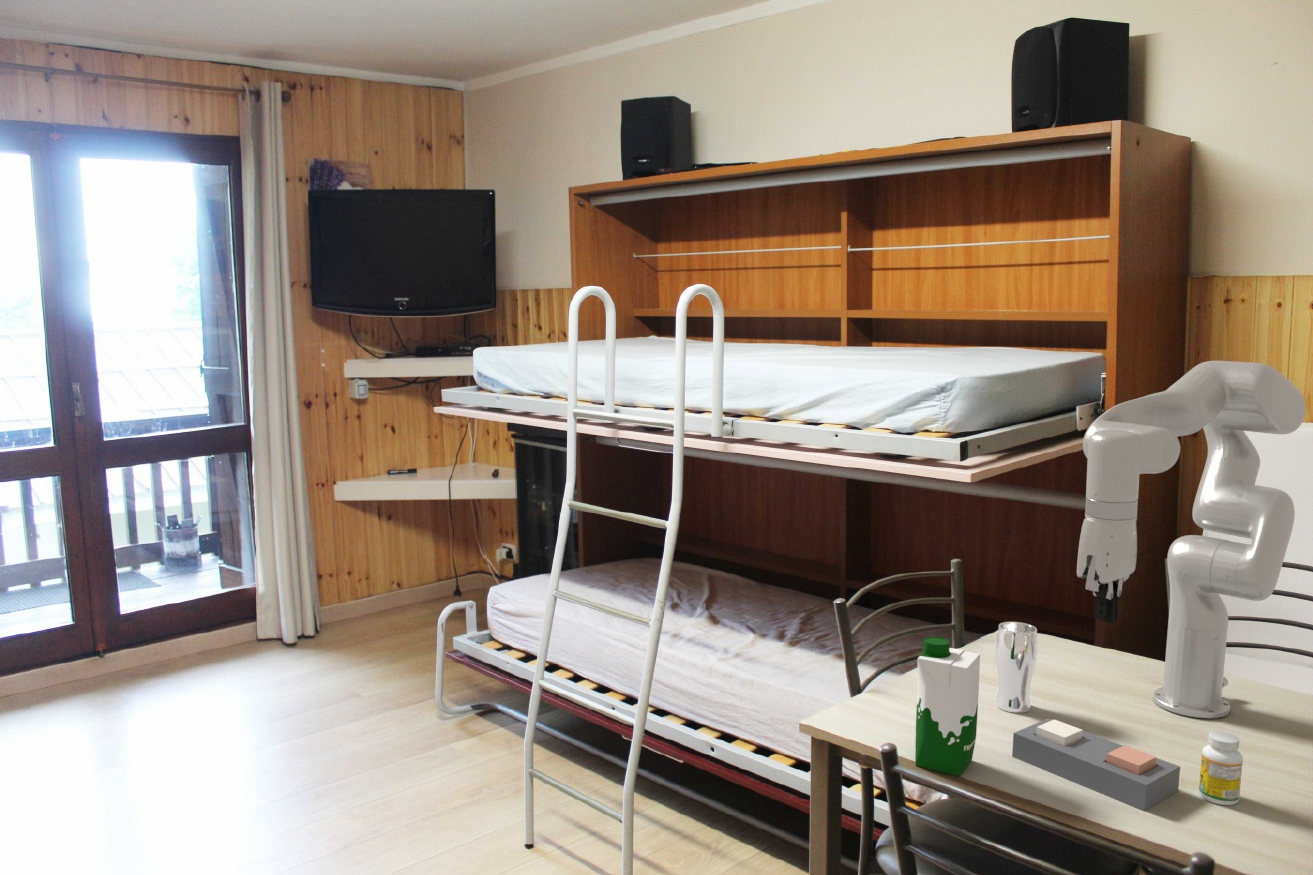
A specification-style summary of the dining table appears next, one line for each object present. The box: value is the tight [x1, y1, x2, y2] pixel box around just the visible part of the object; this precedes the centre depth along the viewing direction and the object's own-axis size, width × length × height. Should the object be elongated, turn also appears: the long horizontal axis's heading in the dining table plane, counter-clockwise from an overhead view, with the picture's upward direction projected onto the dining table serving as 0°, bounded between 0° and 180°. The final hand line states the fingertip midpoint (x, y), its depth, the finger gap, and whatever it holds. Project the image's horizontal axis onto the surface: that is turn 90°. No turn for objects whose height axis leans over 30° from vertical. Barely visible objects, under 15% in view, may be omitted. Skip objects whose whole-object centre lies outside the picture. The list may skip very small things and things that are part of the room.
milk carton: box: [914, 636, 981, 778], centre depth 163 cm, size 9×9×20 cm
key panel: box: [1011, 718, 1181, 812], centre depth 161 cm, size 10×22×4 cm, turn 37°
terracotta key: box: [1106, 744, 1157, 776], centre depth 156 cm, size 5×5×4 cm
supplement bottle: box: [1198, 730, 1244, 806], centre depth 154 cm, size 5×5×10 cm
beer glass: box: [995, 621, 1038, 714], centre depth 187 cm, size 7×7×15 cm
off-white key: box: [1036, 719, 1083, 747], centre depth 166 cm, size 5×5×4 cm
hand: (1105, 619), depth 165 cm, fingers closed
